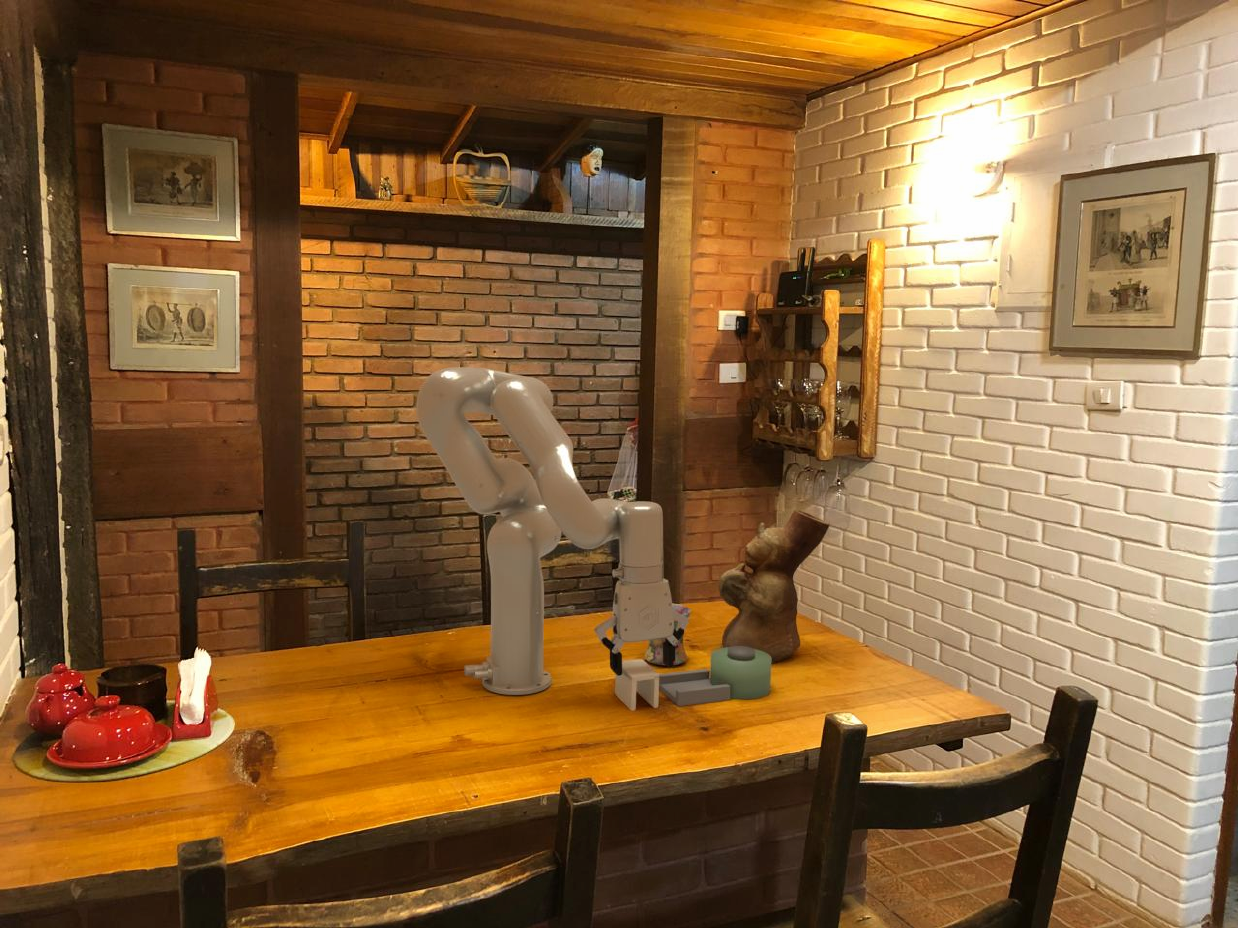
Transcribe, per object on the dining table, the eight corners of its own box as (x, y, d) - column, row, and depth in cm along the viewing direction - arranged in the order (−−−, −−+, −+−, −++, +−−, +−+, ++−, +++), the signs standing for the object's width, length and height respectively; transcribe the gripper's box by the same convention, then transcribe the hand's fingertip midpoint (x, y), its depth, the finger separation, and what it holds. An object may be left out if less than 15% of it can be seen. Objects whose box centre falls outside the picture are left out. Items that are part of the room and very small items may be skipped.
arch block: (658, 707, 158) (659, 673, 158) (631, 710, 157) (632, 676, 156) (640, 691, 166) (641, 659, 165) (614, 694, 164) (615, 661, 163)
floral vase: (698, 663, 181) (700, 611, 180) (661, 672, 176) (663, 618, 175) (661, 647, 191) (662, 597, 190) (625, 654, 186) (626, 603, 184)
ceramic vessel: (714, 639, 197) (719, 501, 193) (816, 643, 196) (823, 505, 193) (719, 664, 181) (725, 514, 178) (830, 668, 180) (838, 518, 177)
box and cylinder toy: (680, 707, 158) (681, 667, 157) (655, 685, 168) (656, 647, 168) (781, 695, 165) (783, 656, 164) (751, 674, 175) (753, 638, 175)
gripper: (601, 583, 152) (603, 683, 154) (696, 573, 158) (697, 669, 160) (587, 573, 159) (589, 669, 161) (678, 564, 165) (679, 657, 167)
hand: (643, 669), depth 160 cm, fingers open, 9 cm apart
